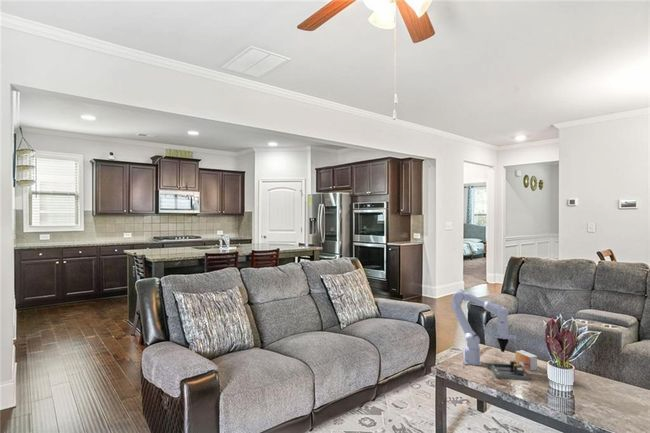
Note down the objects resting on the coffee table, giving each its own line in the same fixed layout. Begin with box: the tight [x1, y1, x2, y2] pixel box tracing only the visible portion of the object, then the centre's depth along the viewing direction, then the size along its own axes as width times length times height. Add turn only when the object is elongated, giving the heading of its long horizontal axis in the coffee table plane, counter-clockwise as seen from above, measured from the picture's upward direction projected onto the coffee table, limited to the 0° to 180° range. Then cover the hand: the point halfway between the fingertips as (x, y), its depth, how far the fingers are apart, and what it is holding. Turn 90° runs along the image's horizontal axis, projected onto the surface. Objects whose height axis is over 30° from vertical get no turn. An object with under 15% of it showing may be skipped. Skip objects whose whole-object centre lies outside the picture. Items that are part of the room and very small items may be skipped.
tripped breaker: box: [513, 364, 520, 372], centre depth 211 cm, size 3×2×4 cm
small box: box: [515, 349, 538, 371], centre depth 220 cm, size 8×6×10 cm
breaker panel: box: [488, 359, 532, 381], centre depth 212 cm, size 18×16×5 cm
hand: (502, 351), depth 219 cm, fingers closed
